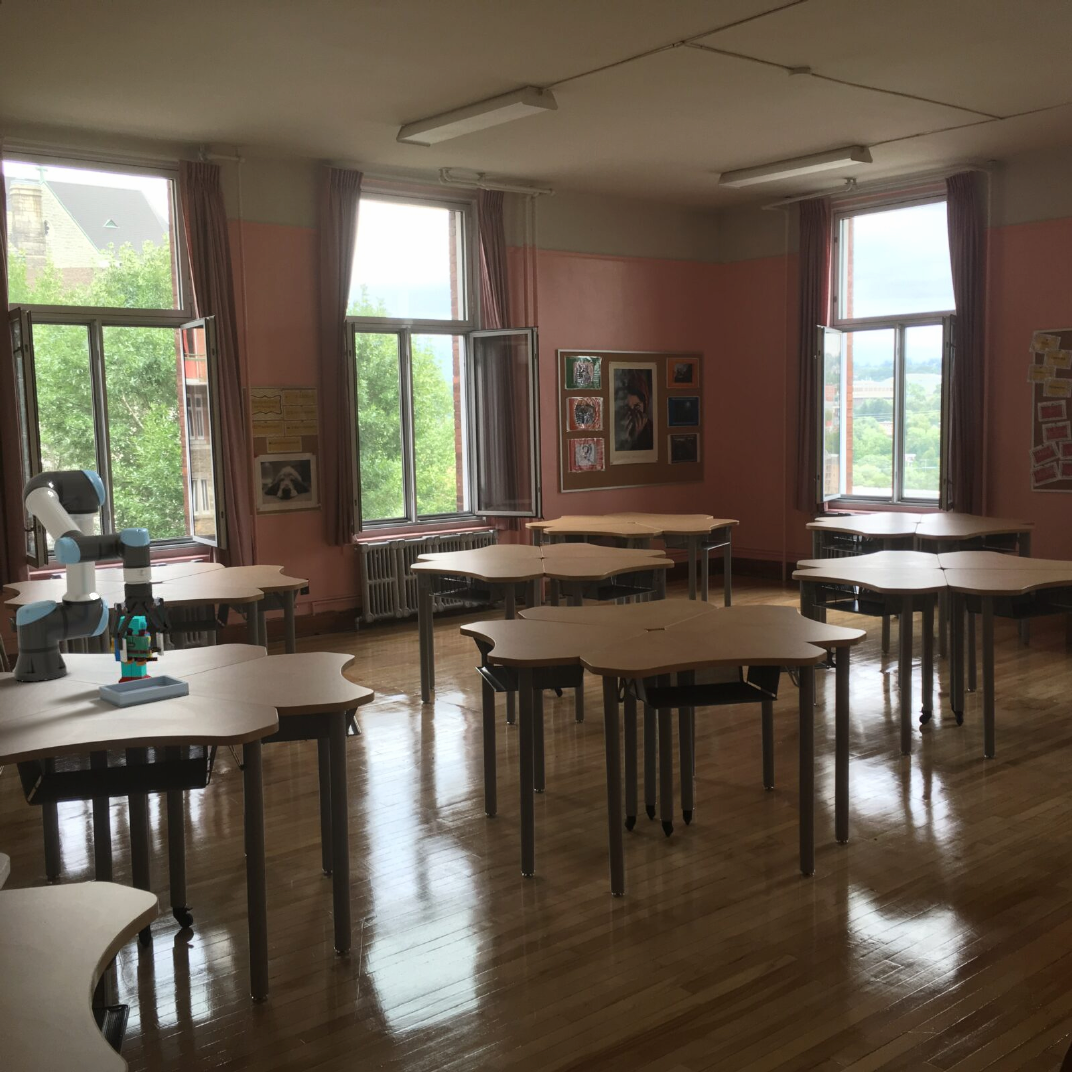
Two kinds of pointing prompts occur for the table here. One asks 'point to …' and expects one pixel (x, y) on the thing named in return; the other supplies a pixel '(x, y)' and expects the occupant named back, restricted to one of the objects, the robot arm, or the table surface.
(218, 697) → the table surface
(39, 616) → the robot arm
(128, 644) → the binoculars
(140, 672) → the toy robot
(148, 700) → the light blue rectangular tray
